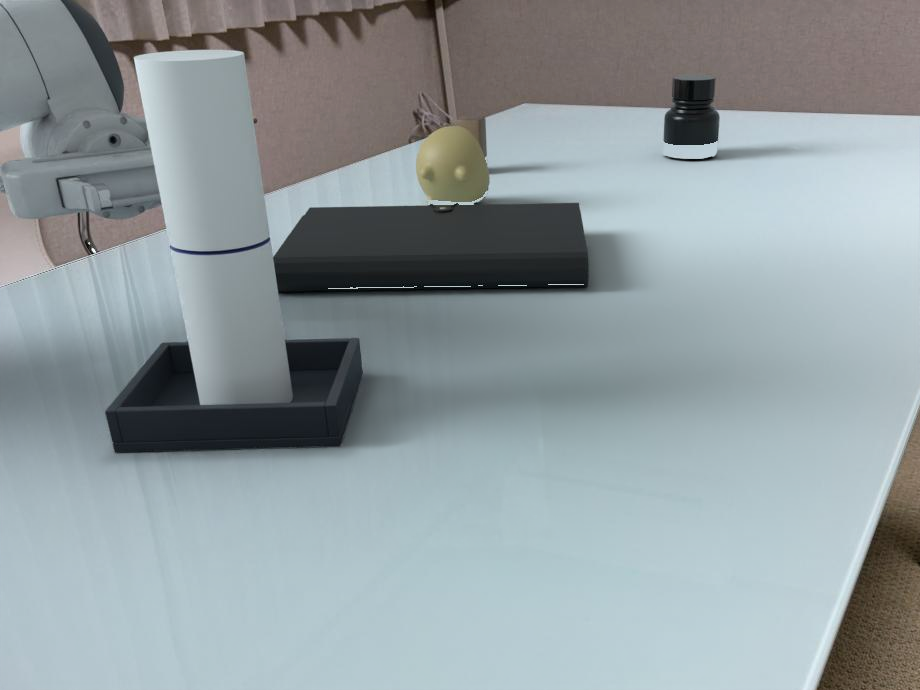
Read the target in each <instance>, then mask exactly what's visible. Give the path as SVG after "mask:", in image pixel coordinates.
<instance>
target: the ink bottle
mask: <svg viewBox="0 0 920 690" xmlns="http://www.w3.org/2000/svg"><path fill="white" fill-rule="evenodd" d="M716 79H717V77H716V76H712V75H702V74H684V75H676V76H673V77H672V83H671V85H672V86H671V102H672V103H673V104H674V105H671V106H670V109H669V110H667V111H666V112H665V114H664V120H663V140H662V142H663V141H664V142H665V143H668V144H673V145H704V144H710V143H714V142H716V141H718V142H719V133H720V122H721V121H720V113H719V112H718V110H717V109H715V106H713V105H712V104H713V103H714V102H715V97H716V96H715V95H716V82H717V81H716Z"/></svg>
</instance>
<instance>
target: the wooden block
mask: <svg viewBox="0 0 920 690" xmlns="http://www.w3.org/2000/svg"><path fill="white" fill-rule="evenodd" d="M486 121H487V120H486V117H485V116H484V115H462V116H459V117H457V118H456V119H455V120H454V126H460V127H464V128H466V129H467V130H469V131H470V132H471V133H472V134H473V136H474V137H475V138H476V140H477V141H478V143H479V145H480V147H481V149H482V151H483V154H484V157H486V156H487V157H488V149H487V147H488V146H487V123H486Z"/></svg>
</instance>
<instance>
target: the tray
mask: <svg viewBox="0 0 920 690" xmlns="http://www.w3.org/2000/svg"><path fill="white" fill-rule="evenodd" d="M285 344H286V351H287V358H288V365H289V372H290V379H291V386H292V393H293V398H292V401H291V402H290V403H261V404H223V405H200V401H199V396H198V391H197V385H196V380H195V375H194V370H193V365H192V359H191V354H190V349H189V344H188V341H175V342H174V341H172V342H171V341H170V342H161V343H160V344H159V345H158V346H157V348H156V349H155V350H154V351H153V353H152V354H150V356H149V357H148V359H146V361H145V362H144V363H143V364H142V366H141V367H140V368H139V370H138V371H137V372H136V373H135V374H134V375H133V376H132V378H131V379H130V380H129V381H128V383H127V384H126V385H125V386H124V388H123V389H122V390H121V391H120V393H119V394H118V395H117V396H116V398H115V399H114V400H113V401H112V402H111V403H110V405H109V406H108V407H107V408H106V410H105V411H104V413H105V417H106V423H107V426H108V430H109V434H110V438H111V442H112V446H113V451H114V453H143V452H145V453H146V452H148V453H149V452H175V451H176V452H180V451H181V452H183V451H217V450H218V451H220V450H221V451H222V450H223V451H224V450H256V449H261V450H262V449H293V448H296V449H297V448H332V447H334V448H336V447H341V446H342V443H343V440H344V437H345V433H346V430H347V426H348V424H349V421H350V418H351V414H352V411H353V407H354V405H355V401H356V399H357V395H358V391H359V388H360V386H361V383H362V379H363V376H364V369H363V358H362V350H361V340H360V337H334V338H332V337H331V338H329V337H328V338H297V339H296V338H295V339H293V338H292V339H285Z"/></svg>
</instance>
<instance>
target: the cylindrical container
mask: <svg viewBox="0 0 920 690" xmlns="http://www.w3.org/2000/svg"><path fill="white" fill-rule="evenodd" d="M245 57H246V56H245V53H244V52H243V51H240V50H234V49H233V50H232V49H188V50H187V49H186V50H171V51H169V50H168V51H160V52H151V53H144V54H138V55H134V56H133V60H134V61H133V62H134V66H135V72H136V77H137V82H138V87H139V93H140V98H141V99H140V100H141V103H142V109H143V113H144V117H145V119H146V125H147V130H148V135H149V140H150V146H151V151H152V156H153V161H154V167H155V172H156V177H157V182H158V187H159V193H160V198H161V203H162V205H161V207H162V211H163V212H162V213H163V218H164V224H165V229H166V234H167V240H168V244H169V249H170V255H171V260H172V266H173V270H174V276H175V281H176V286H177V291H178V297H179V301H180V307H181V312H182V317H183V323H184V327H185V333H186V337H187V342H188V344H189V349H190V354H191V359H192V365H193V370H194V375H195V380H196V385H197V391H198V396H199V401H200V405H223V404H261V403H290V402H291V401H292V398H293V393H292V386H291V379H290V372H289V365H288V358H287V351H286V344H285V340H286V339H285V338H286V337H285V331H284V325H283V318H282V309H281V303H280V296H279V292H278V288H277V281H276V274H275V267H274V260H273V257H274V254H273V247H272V240H271V237H270V236H271V235H270V233H271V232H270V225H269V220H268V219H269V218H268V212H267V205H266V198H265V192H264V184H263V178H262V177H263V176H262V169H261V163H260V157H259V149H258V143H257V135H256V129H255V121H254V113H253V107H252V99H251V93H250V86H249V78H248V72H247V66H246V58H245Z"/></svg>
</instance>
